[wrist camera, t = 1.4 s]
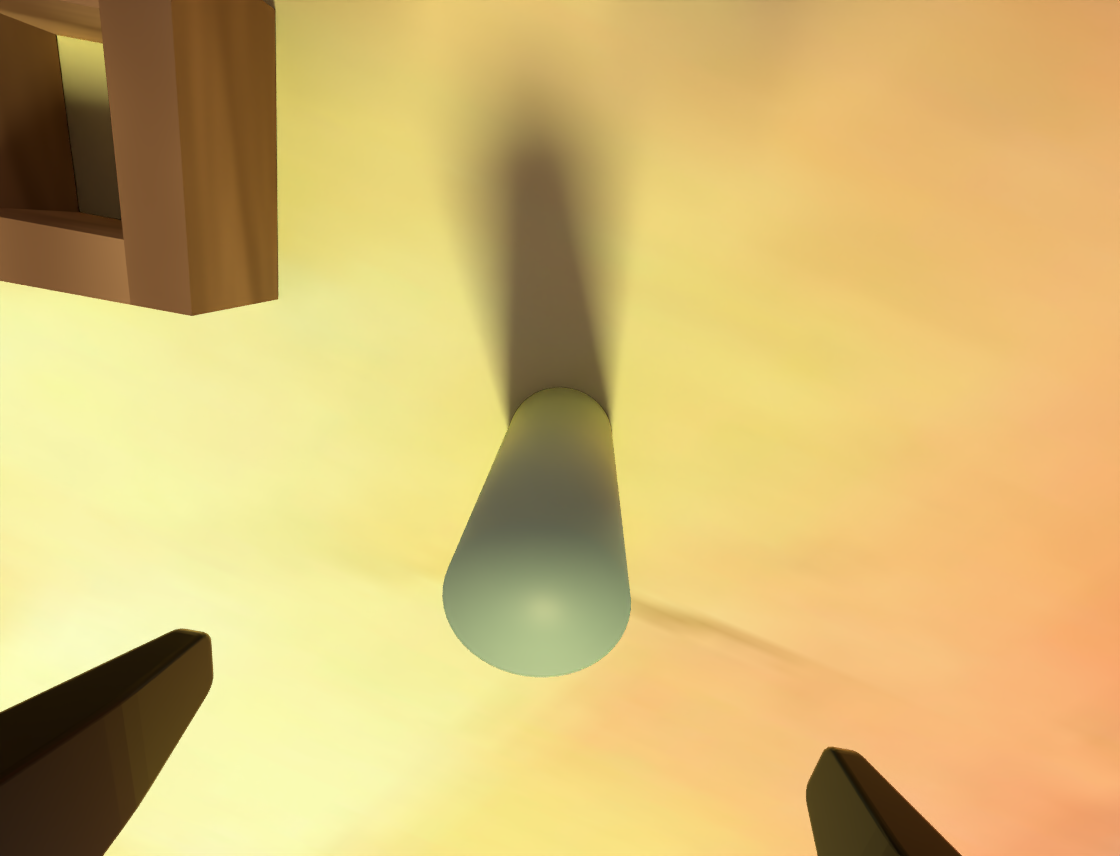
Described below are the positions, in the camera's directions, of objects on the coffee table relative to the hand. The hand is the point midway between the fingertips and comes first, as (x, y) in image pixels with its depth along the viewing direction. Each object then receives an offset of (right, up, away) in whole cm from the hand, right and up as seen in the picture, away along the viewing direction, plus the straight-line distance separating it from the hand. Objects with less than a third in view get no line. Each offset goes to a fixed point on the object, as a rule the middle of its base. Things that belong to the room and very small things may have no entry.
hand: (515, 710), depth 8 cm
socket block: (-12, +13, +8) cm, 19 cm away
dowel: (+1, +4, +11) cm, 12 cm away
